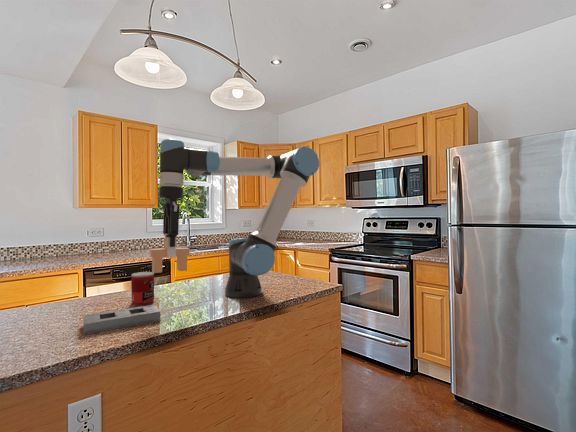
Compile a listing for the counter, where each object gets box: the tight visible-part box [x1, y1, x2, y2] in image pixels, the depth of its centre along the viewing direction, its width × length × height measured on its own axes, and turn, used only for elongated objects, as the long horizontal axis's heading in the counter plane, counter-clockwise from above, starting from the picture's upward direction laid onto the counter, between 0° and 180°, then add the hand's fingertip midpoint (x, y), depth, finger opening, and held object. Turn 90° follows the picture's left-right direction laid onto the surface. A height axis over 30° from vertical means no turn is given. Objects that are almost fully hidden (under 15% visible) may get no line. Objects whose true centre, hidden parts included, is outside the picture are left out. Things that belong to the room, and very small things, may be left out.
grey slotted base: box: [83, 303, 161, 336], centre depth 96 cm, size 20×9×3 cm, turn 124°
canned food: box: [130, 271, 155, 306], centre depth 118 cm, size 8×8×11 cm
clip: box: [149, 234, 190, 274], centre depth 105 cm, size 12×4×12 cm, turn 123°
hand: (169, 255), depth 105 cm, fingers closed on clip, 3 cm apart
